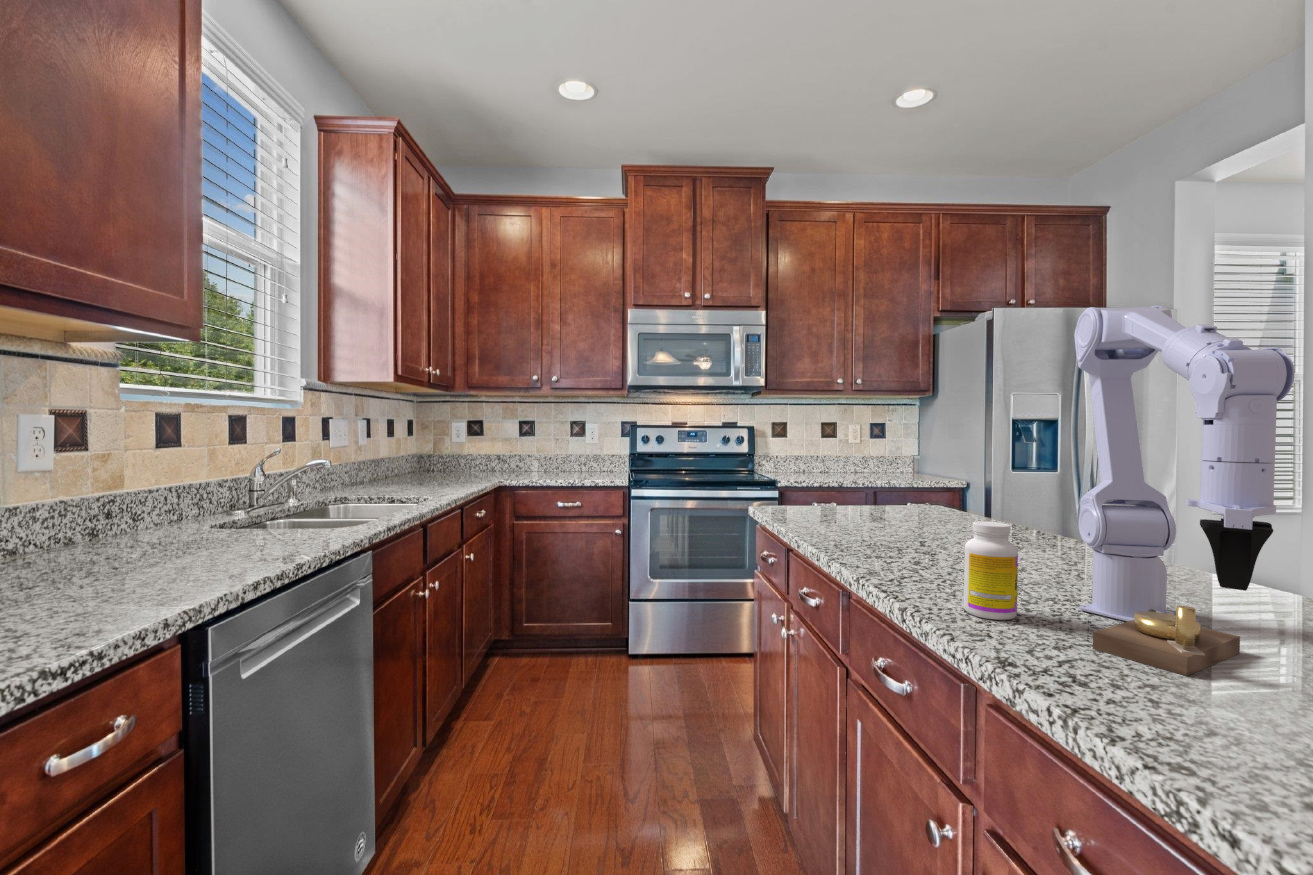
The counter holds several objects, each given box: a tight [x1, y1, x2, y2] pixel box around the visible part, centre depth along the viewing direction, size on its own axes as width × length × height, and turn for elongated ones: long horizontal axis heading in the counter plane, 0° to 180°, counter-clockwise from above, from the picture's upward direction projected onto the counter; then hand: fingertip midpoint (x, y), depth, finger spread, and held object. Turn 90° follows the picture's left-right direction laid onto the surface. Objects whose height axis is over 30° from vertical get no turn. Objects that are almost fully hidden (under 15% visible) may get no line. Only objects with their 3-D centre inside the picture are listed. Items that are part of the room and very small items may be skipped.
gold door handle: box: [1134, 605, 1201, 647], centre depth 70 cm, size 10×6×4 cm, turn 155°
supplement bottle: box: [963, 520, 1019, 621], centre depth 85 cm, size 7×7×13 cm
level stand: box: [1092, 609, 1241, 677], centre depth 72 cm, size 14×10×4 cm
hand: (1233, 587), depth 65 cm, fingers closed
